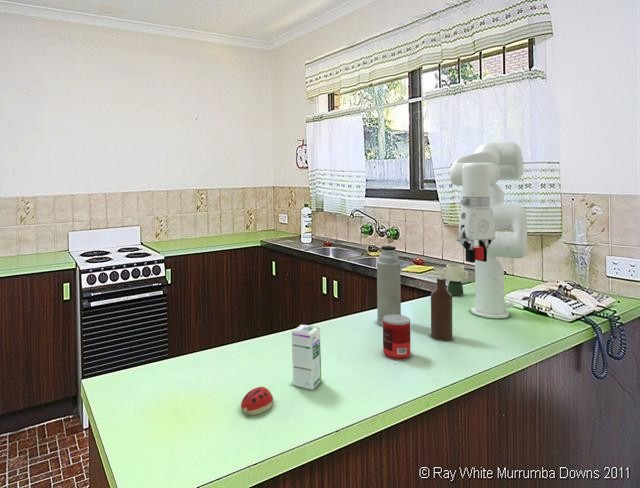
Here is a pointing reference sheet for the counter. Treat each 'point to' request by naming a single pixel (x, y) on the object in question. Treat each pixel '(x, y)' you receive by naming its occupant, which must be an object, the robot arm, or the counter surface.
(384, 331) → the canned food
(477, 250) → the cap
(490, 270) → the robot arm
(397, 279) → the thermos bottle
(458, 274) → the character mug
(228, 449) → the counter surface
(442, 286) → the bottle
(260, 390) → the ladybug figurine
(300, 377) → the syrup box
